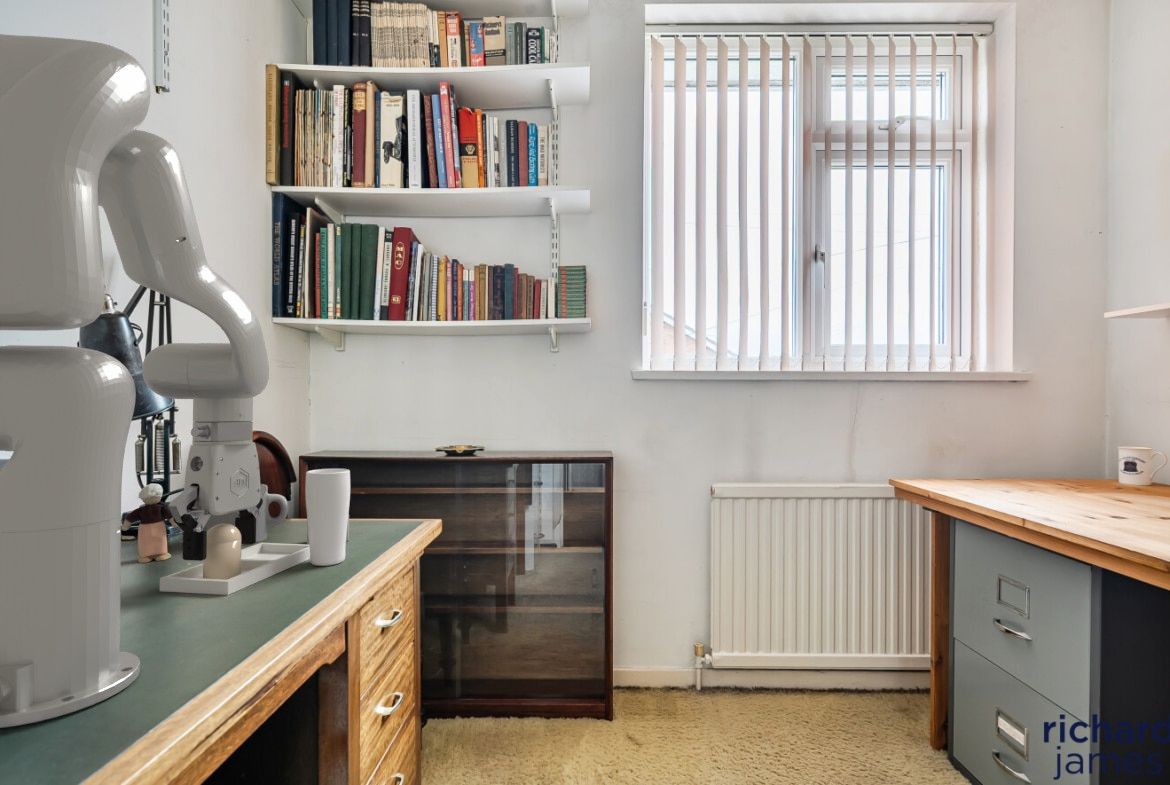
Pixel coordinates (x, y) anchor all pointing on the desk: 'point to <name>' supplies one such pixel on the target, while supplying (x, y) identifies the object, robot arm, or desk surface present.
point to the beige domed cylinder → (222, 552)
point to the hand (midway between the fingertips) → (221, 551)
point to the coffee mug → (262, 520)
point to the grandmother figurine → (151, 524)
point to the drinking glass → (327, 514)
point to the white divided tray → (254, 568)
